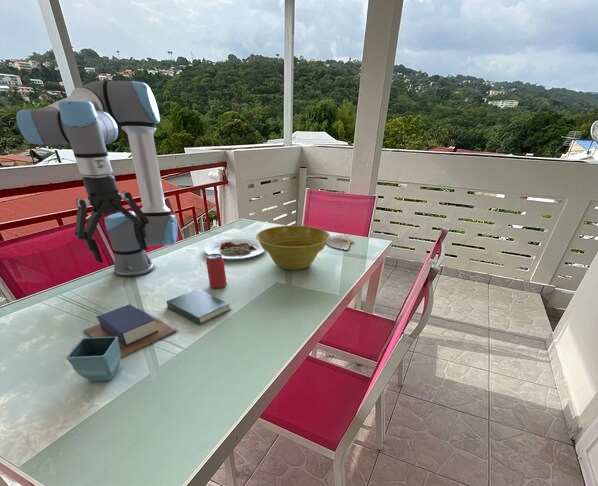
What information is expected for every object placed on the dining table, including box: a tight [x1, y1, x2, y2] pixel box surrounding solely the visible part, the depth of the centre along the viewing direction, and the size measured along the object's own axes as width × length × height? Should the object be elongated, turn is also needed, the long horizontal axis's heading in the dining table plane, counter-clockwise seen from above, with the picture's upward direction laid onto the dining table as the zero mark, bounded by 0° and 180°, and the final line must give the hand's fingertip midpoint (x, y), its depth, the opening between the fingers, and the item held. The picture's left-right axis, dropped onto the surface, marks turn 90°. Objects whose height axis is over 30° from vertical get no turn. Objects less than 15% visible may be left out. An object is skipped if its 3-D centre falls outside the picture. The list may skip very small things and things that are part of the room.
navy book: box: [96, 303, 159, 346], centre depth 101 cm, size 15×10×4 cm
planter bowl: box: [255, 225, 331, 271], centre depth 147 cm, size 32×32×13 cm
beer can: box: [205, 254, 228, 289], centre depth 128 cm, size 7×7×12 cm
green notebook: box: [165, 288, 231, 325], centre depth 115 cm, size 18×13×2 cm
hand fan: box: [326, 233, 354, 251], centre depth 178 cm, size 26×1×15 cm
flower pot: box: [65, 337, 122, 382], centre depth 83 cm, size 9×9×9 cm
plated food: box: [204, 238, 266, 261], centre depth 163 cm, size 30×30×3 cm
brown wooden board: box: [83, 309, 177, 359], centre depth 102 cm, size 22×18×1 cm
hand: (122, 255), depth 98 cm, fingers open, 13 cm apart
